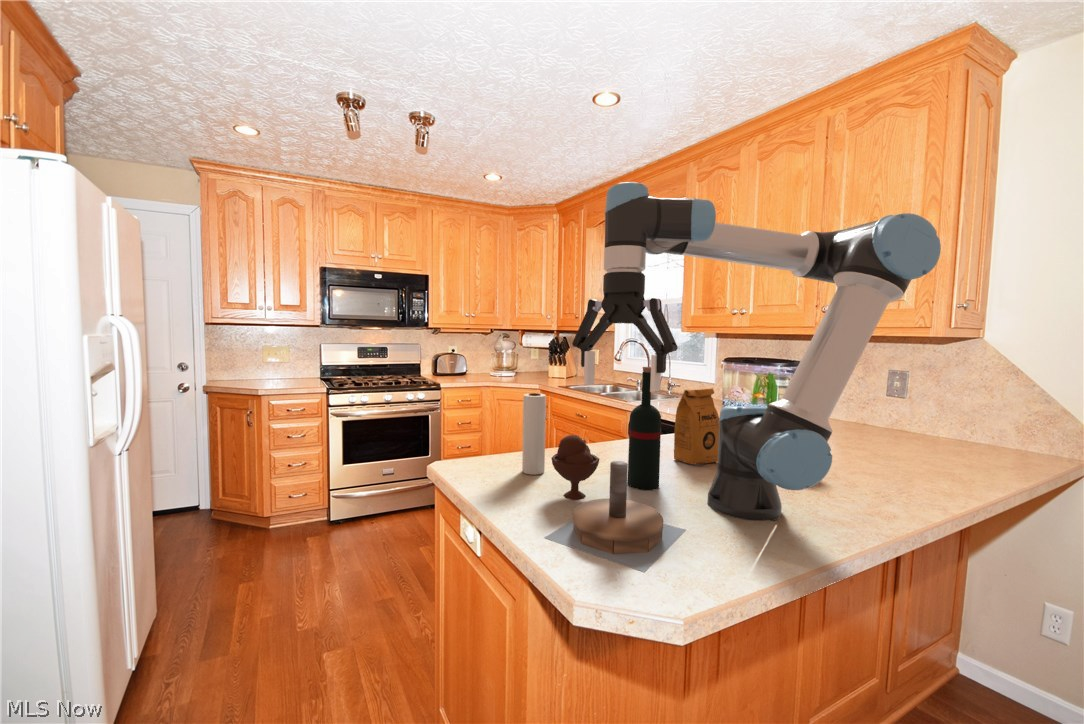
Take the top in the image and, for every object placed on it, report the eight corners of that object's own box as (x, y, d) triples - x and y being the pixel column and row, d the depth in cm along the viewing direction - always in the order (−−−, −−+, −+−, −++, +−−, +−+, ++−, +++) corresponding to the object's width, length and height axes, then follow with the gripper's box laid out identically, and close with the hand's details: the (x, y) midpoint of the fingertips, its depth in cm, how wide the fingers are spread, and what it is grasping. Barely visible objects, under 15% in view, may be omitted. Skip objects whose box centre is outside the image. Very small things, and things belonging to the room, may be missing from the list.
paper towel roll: (533, 476, 124) (535, 396, 123) (517, 471, 128) (518, 394, 127) (551, 471, 130) (553, 393, 128) (535, 466, 134) (537, 391, 132)
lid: (676, 530, 92) (678, 461, 91) (639, 565, 78) (642, 485, 77) (599, 509, 102) (601, 447, 101) (555, 537, 88) (556, 465, 87)
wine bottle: (642, 475, 127) (646, 364, 124) (665, 488, 117) (670, 368, 115) (616, 478, 124) (620, 365, 121) (638, 492, 114) (642, 368, 112)
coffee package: (725, 464, 139) (728, 390, 137) (690, 468, 134) (694, 391, 132) (701, 455, 148) (705, 385, 146) (669, 459, 143) (671, 387, 142)
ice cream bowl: (600, 507, 104) (602, 440, 103) (550, 506, 105) (551, 439, 103) (596, 490, 115) (598, 429, 114) (550, 489, 115) (551, 428, 114)
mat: (686, 532, 92) (686, 529, 92) (644, 575, 76) (644, 572, 76) (596, 507, 104) (596, 505, 104) (543, 540, 88) (543, 537, 88)
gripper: (699, 271, 82) (693, 392, 84) (577, 277, 97) (574, 380, 98) (684, 266, 76) (678, 396, 78) (556, 273, 91) (554, 383, 92)
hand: (620, 387), depth 88 cm, fingers open, 13 cm apart
